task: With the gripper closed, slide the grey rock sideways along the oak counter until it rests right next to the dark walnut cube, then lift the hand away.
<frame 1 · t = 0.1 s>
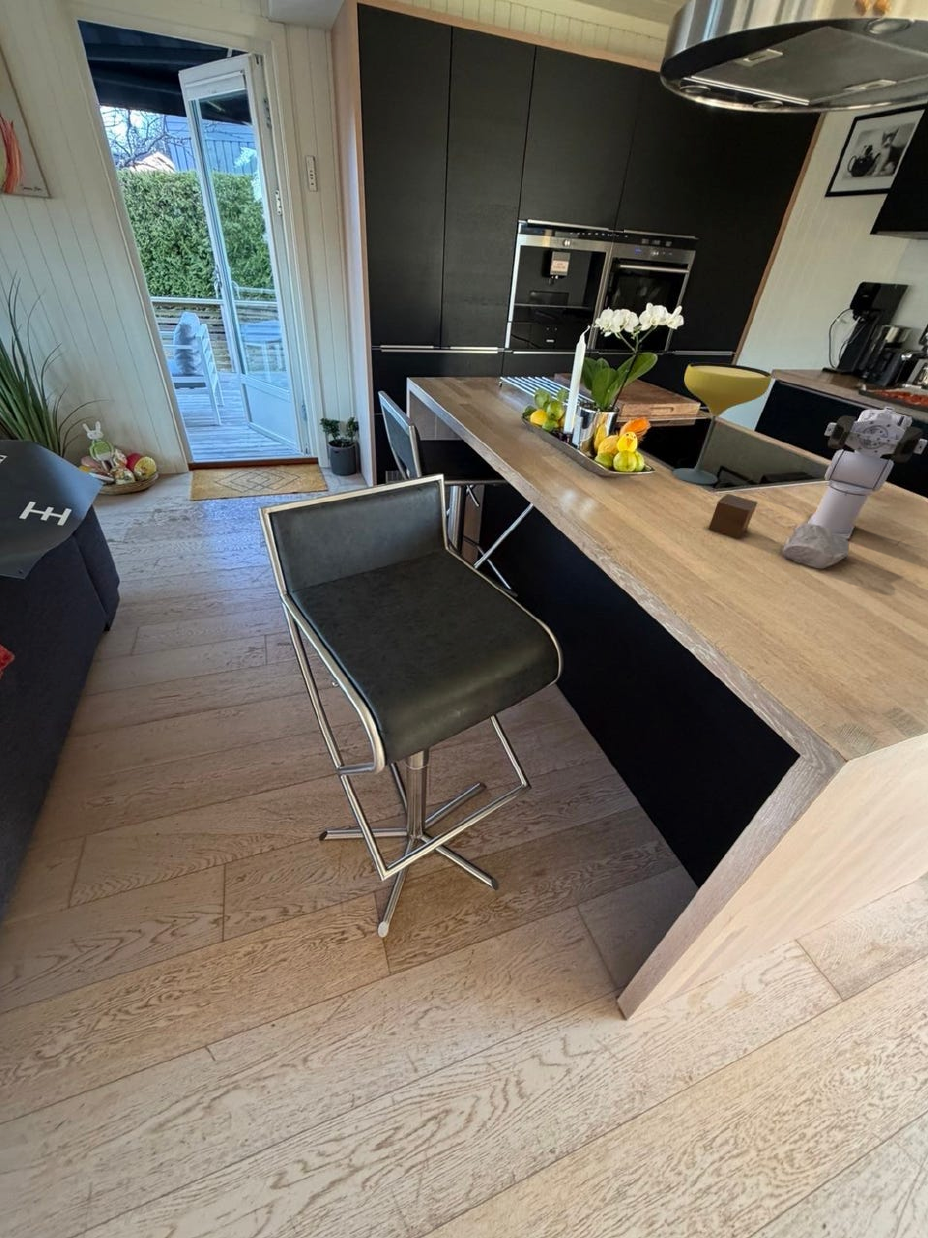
hand: (870, 443, 85), 22 cm above the worktop, tool horizontal, fingers open, 7 cm apart
cocktail glass: (694, 477, 133), on the worktop
grey rock: (813, 556, 99), on the worktop
walnut cube: (727, 529, 107), on the worktop
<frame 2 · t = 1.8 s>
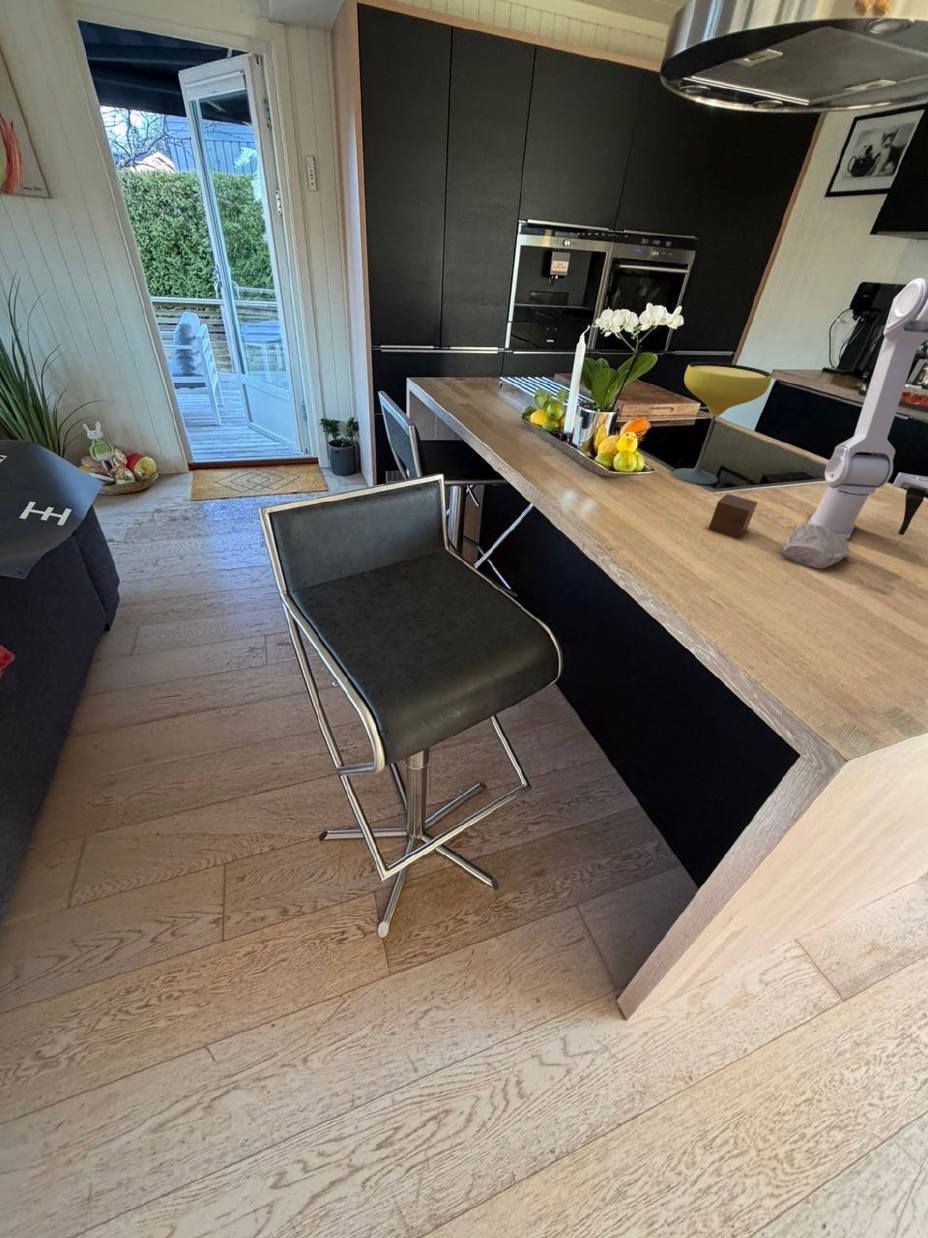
hand: (920, 538, 88), 8 cm above the worktop, tool pointing down, fingers open, 5 cm apart
nothing on the worktop moved.
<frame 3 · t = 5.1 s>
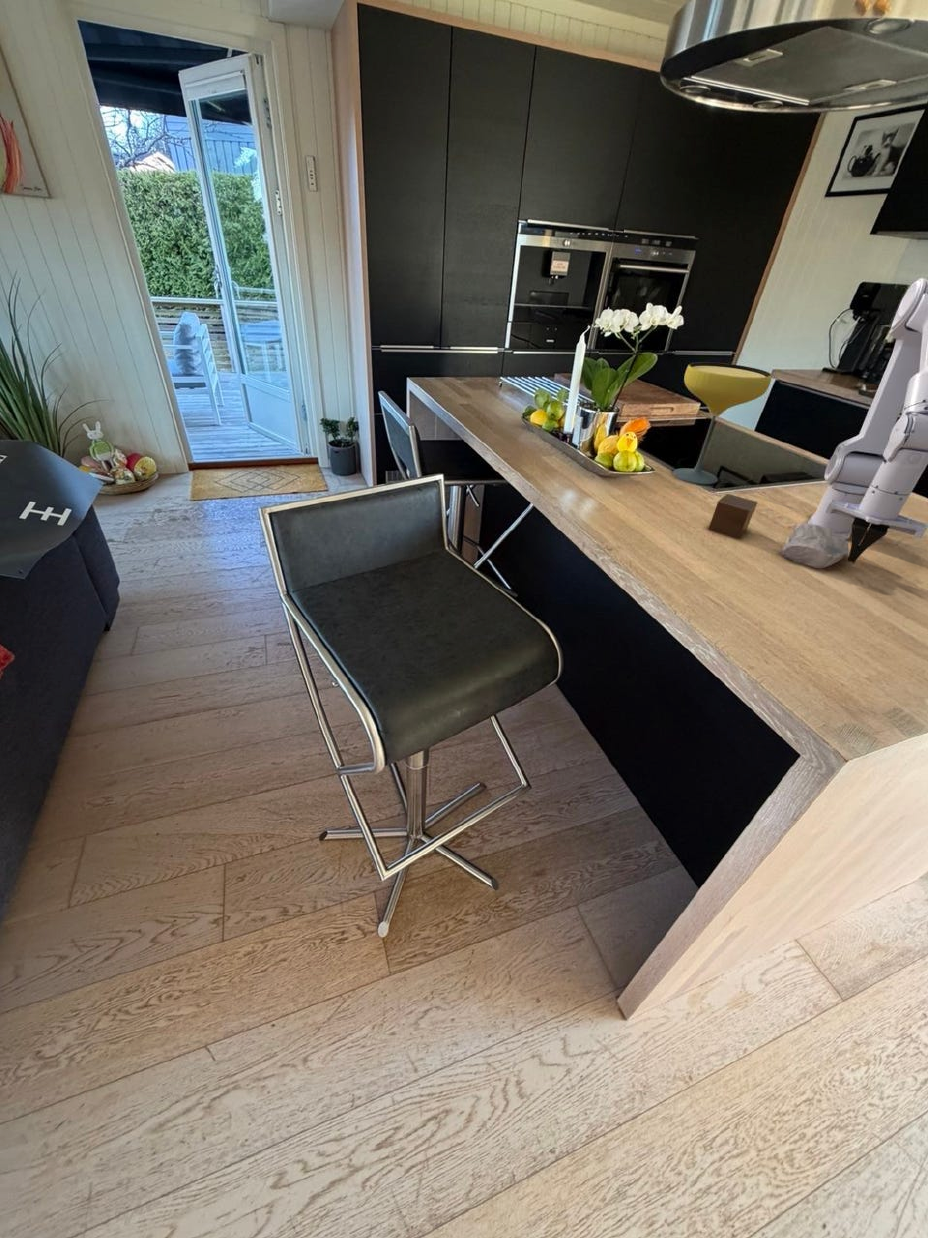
hand: (851, 559, 96), 1 cm above the worktop, tool pointing down, fingers closed
grey rock: (812, 556, 99), on the worktop, touching gripper
everything else where it was.
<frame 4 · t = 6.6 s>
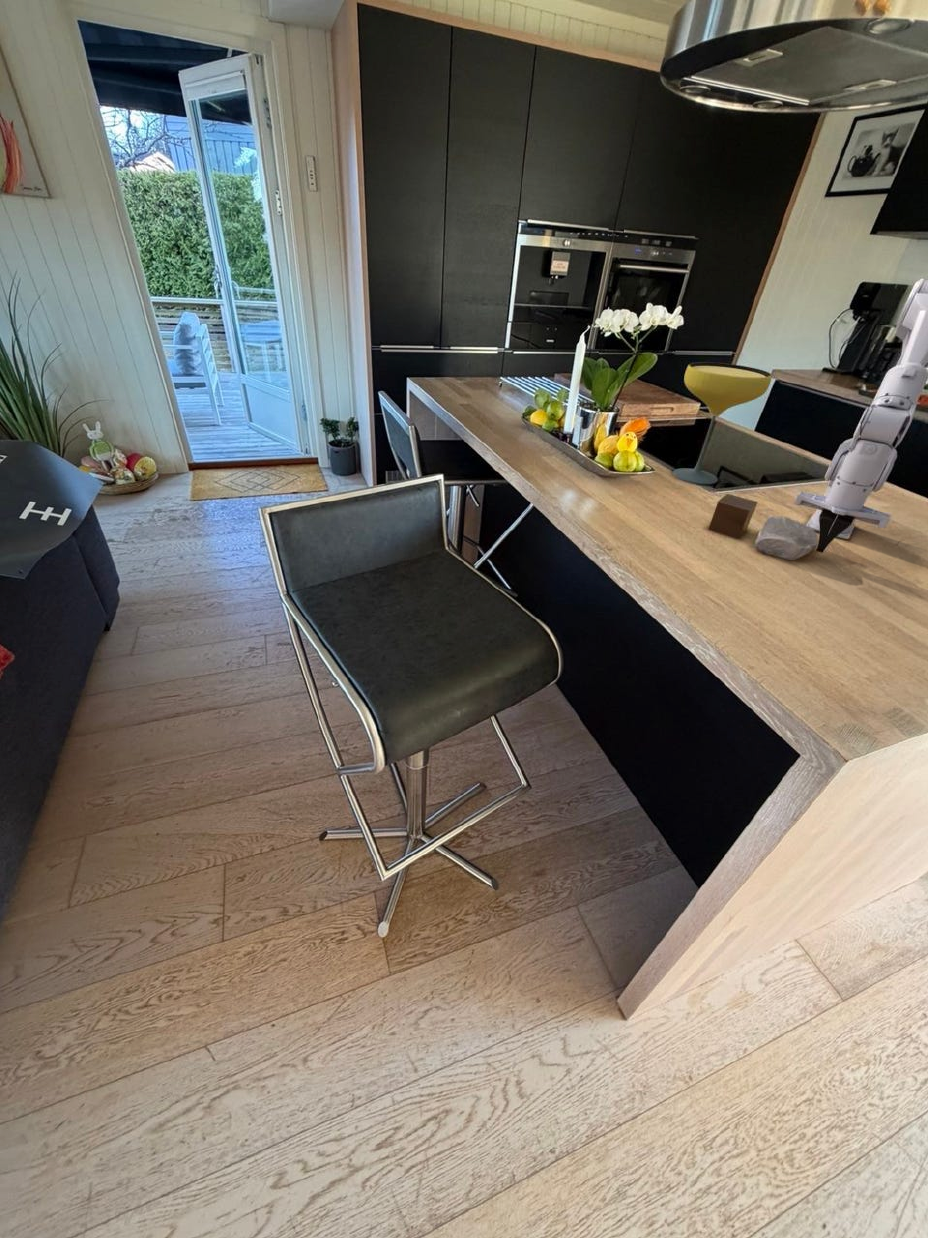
hand: (819, 550, 98), 1 cm above the worktop, tool pointing down, fingers closed
grey rock: (783, 548, 102), on the worktop, touching gripper
everything else where it was.
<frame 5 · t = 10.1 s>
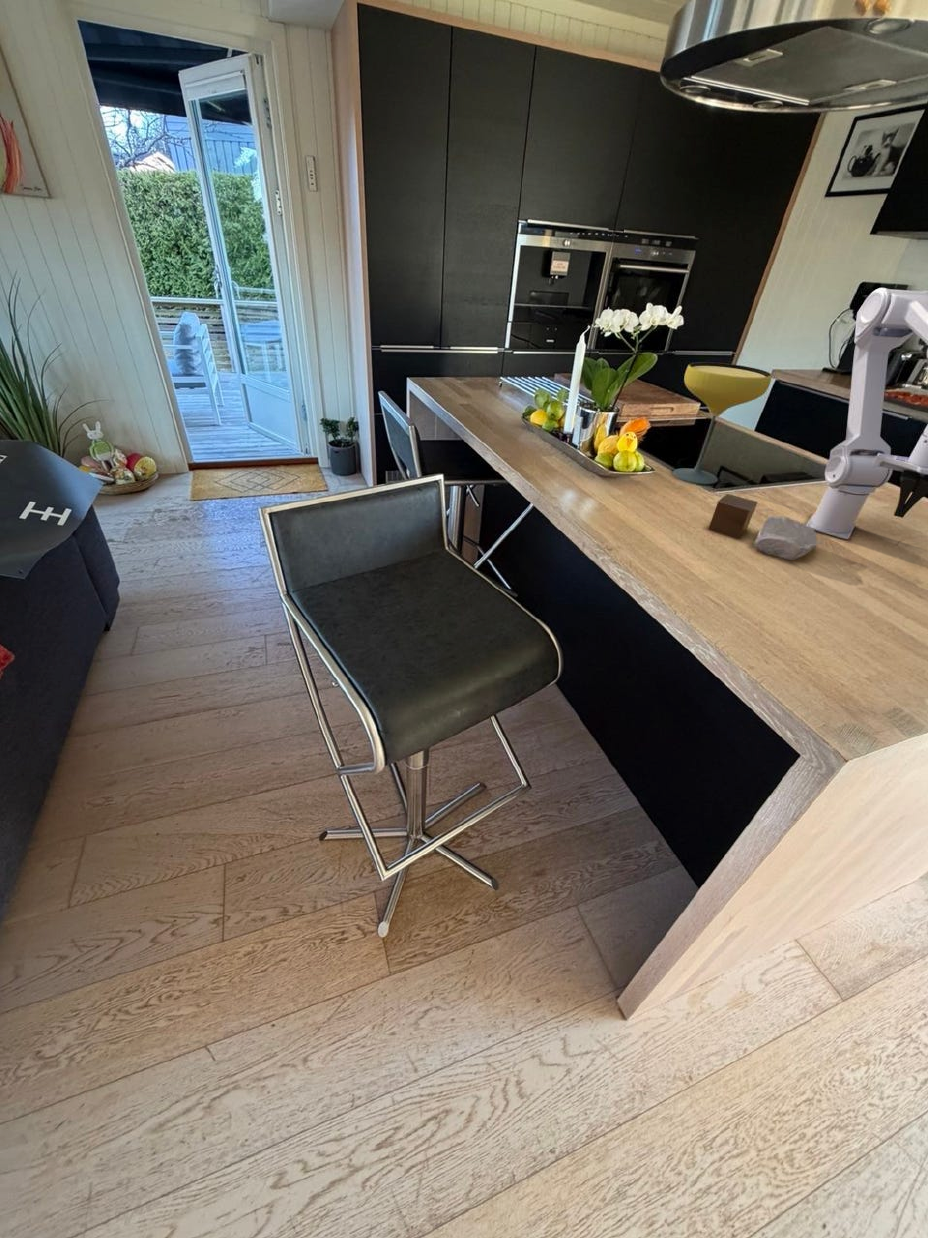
hand: (898, 515, 93), 9 cm above the worktop, tool pointing down, fingers closed
grey rock: (783, 548, 102), on the worktop
everything else where it was.
at the end: grey rock 0.7 cm from the target spot on the worktop beside the walnut cube, on the worktop; walnut cube moved 0.0 cm from its start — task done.
